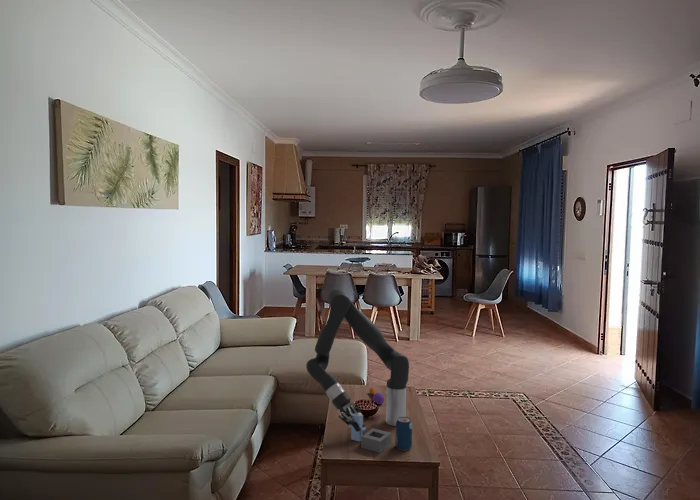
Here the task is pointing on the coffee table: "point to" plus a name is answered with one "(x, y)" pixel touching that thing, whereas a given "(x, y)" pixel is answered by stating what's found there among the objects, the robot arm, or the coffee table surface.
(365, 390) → the coffee table surface
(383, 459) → the coffee table surface
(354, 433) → the block
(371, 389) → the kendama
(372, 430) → the grey block with hole
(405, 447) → the soda can
